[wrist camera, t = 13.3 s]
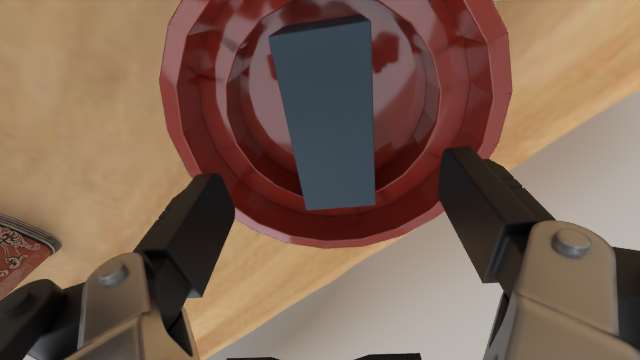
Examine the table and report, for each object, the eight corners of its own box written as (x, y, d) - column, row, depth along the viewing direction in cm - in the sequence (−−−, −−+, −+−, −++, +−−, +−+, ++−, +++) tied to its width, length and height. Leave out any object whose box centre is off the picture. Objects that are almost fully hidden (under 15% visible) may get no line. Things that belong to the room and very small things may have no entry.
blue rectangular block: (283, 26, 15) (267, 36, 11) (361, 13, 14) (371, 20, 11) (311, 173, 21) (306, 211, 17) (368, 167, 20) (375, 205, 16)
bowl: (159, -31, 14) (78, -42, 10) (488, -94, 12) (578, -146, 8) (249, 205, 23) (229, 255, 19) (443, 189, 22) (472, 240, 17)
